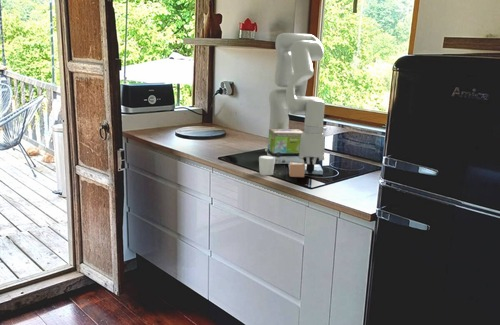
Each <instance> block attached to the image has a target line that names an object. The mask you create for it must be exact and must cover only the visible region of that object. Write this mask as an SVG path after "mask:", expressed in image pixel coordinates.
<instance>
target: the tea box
mask: <svg viewBox="0 0 500 325" xmlns="http://www.w3.org/2000/svg"><path fill="white" fill-rule="evenodd" d="M302 132H304V130H301V129H294V128H292V129H290V128H288V129H268V137H267V138H268V141H267V148H268V150H267V152H266V154H267V155H266V156H273V157H275V164H274V165H281V164H285V165H286V164H287V165H288V163H290V162H304V163H305V161H304V160H302V159H299V158H298V156H299V145H300V138H301V134H302Z"/></svg>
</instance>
